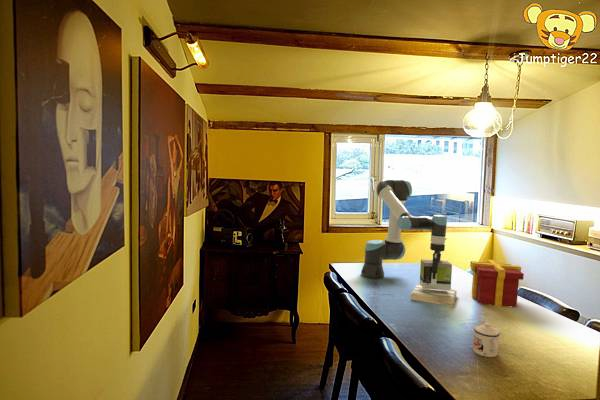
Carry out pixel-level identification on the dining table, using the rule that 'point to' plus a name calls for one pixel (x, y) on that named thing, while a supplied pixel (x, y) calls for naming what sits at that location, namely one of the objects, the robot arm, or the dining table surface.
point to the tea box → (442, 275)
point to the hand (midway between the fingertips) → (434, 281)
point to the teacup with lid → (486, 340)
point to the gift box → (495, 283)
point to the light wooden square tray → (434, 295)
